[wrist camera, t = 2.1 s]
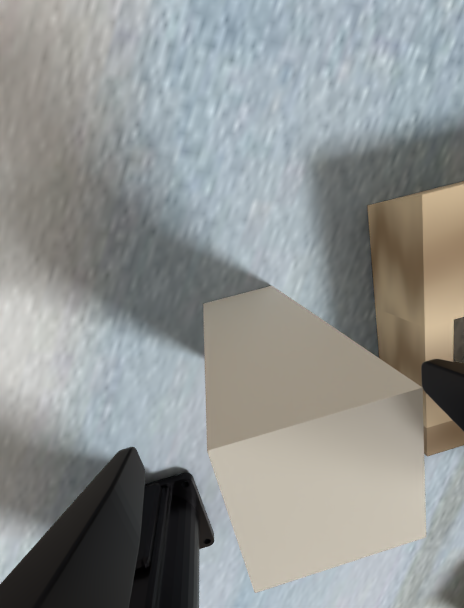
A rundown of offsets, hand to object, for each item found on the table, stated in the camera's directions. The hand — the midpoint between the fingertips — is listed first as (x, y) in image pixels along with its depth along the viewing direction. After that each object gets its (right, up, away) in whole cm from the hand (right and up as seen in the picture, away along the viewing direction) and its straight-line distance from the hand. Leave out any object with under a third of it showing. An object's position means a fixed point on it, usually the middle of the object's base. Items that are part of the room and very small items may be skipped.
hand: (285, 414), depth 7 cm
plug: (-1, +2, +7) cm, 7 cm away
